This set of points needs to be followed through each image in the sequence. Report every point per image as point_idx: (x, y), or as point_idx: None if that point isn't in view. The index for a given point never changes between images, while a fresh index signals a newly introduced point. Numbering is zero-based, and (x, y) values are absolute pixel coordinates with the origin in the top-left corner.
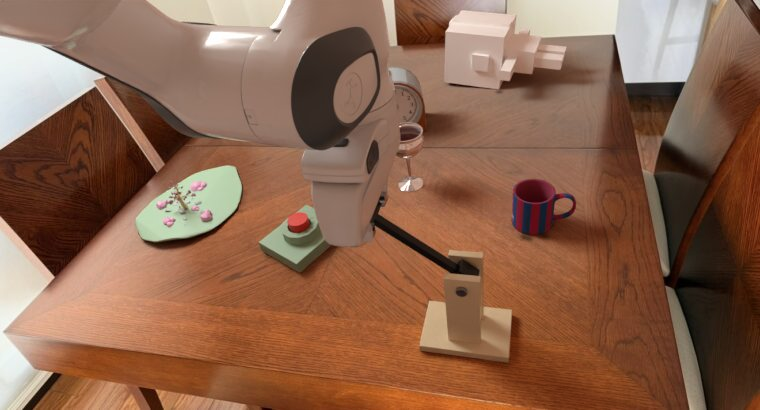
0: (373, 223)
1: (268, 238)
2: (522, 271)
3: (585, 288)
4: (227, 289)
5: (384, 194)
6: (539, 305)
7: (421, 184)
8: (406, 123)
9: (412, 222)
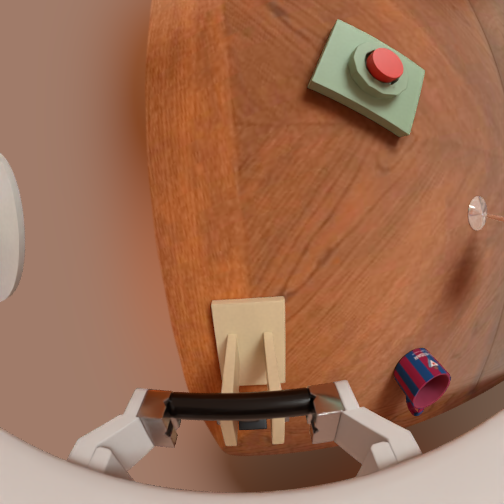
0: (172, 446)
1: (349, 29)
2: (345, 375)
3: None
4: (253, 11)
5: (321, 440)
6: None
7: (476, 228)
8: None
9: (423, 233)
